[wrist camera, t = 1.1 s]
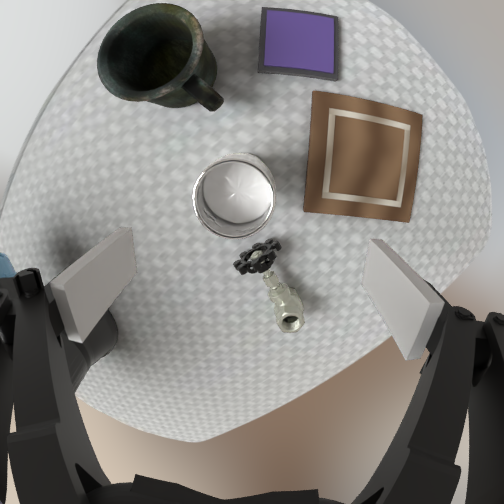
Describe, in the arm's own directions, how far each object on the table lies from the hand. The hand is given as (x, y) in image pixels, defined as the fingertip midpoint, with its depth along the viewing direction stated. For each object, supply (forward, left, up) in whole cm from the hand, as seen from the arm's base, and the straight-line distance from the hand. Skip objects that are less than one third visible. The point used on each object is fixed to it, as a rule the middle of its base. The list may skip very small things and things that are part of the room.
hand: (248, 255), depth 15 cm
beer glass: (-2, +1, -23) cm, 23 cm away
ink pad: (+4, +20, -23) cm, 31 cm away
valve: (+4, -13, -23) cm, 27 cm away
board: (+14, +5, -23) cm, 27 cm away
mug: (-10, +14, -23) cm, 29 cm away
